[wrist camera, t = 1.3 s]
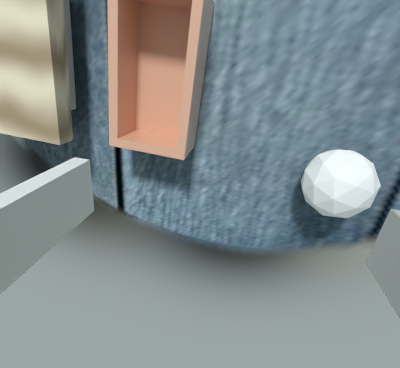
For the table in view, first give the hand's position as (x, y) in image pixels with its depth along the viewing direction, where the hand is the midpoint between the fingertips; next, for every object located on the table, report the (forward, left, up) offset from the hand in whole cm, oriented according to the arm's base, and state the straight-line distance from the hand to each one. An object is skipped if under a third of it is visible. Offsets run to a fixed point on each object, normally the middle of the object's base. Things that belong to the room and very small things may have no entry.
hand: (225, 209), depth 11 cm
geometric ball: (+4, +12, -23) cm, 26 cm away
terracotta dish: (-4, -10, -23) cm, 25 cm away
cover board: (-5, -26, -19) cm, 32 cm away
